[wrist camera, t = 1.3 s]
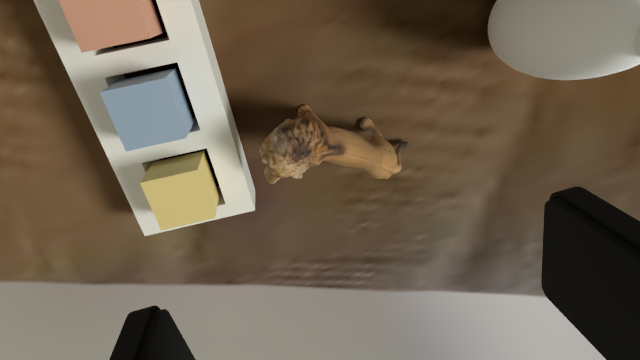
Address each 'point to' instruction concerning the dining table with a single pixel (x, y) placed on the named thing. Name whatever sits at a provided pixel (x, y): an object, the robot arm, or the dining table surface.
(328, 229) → the dining table surface
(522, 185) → the dining table surface
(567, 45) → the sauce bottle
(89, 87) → the button board
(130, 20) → the terracotta button
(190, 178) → the ochre button
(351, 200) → the dining table surface
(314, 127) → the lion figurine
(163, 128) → the blue button
